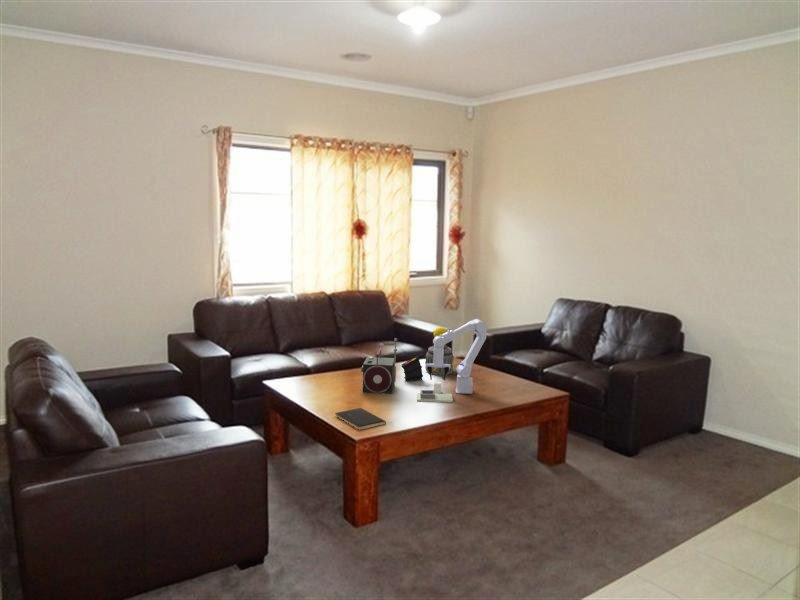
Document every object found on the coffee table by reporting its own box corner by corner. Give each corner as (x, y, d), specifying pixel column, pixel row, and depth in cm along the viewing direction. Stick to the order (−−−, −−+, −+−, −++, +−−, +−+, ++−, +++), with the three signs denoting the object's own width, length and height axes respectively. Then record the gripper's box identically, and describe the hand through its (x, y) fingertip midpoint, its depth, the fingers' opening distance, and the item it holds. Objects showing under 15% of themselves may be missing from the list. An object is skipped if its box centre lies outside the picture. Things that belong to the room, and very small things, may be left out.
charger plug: (440, 391, 350) (440, 381, 349) (440, 393, 346) (441, 383, 345) (433, 391, 350) (434, 381, 349) (434, 393, 346) (434, 383, 345)
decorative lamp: (448, 376, 381) (450, 331, 377) (421, 373, 388) (422, 328, 383) (456, 369, 399) (458, 325, 394) (430, 366, 405) (431, 323, 401)
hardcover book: (358, 431, 286) (358, 426, 286) (335, 417, 305) (335, 412, 305) (385, 424, 296) (385, 420, 295) (361, 411, 314) (361, 407, 314)
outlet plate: (451, 395, 343) (451, 389, 342) (452, 402, 331) (453, 396, 330) (416, 394, 343) (417, 388, 343) (416, 401, 331) (417, 395, 331)
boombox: (364, 383, 362) (365, 335, 358) (398, 385, 361) (399, 337, 356) (360, 392, 344) (360, 342, 340) (395, 394, 343) (396, 343, 338)
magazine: (427, 377, 372) (418, 357, 368) (409, 388, 369) (400, 367, 365) (425, 376, 376) (416, 355, 371) (407, 386, 372) (398, 366, 368)
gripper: (450, 355, 348) (449, 378, 350) (425, 354, 349) (425, 377, 351) (451, 358, 341) (450, 381, 343) (426, 357, 342) (425, 380, 344)
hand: (437, 379), depth 347 cm, fingers open, 7 cm apart
